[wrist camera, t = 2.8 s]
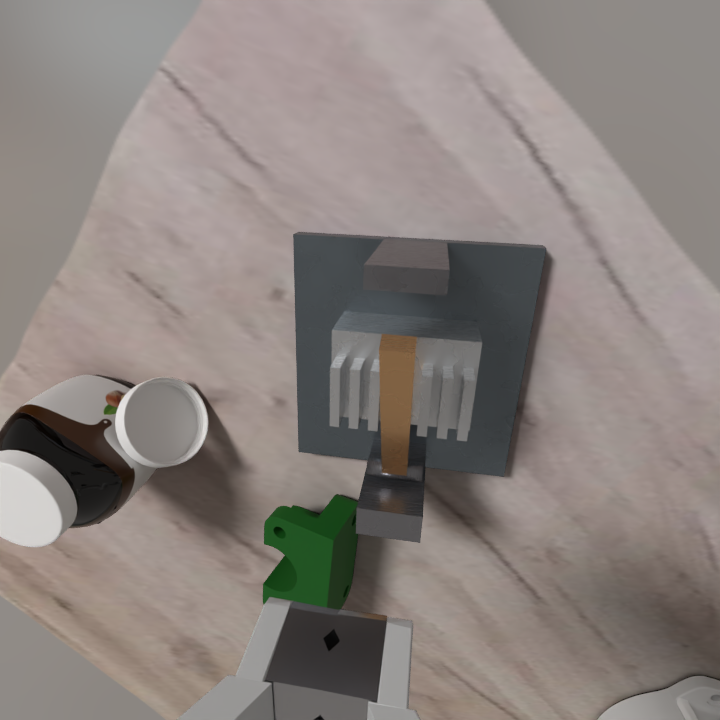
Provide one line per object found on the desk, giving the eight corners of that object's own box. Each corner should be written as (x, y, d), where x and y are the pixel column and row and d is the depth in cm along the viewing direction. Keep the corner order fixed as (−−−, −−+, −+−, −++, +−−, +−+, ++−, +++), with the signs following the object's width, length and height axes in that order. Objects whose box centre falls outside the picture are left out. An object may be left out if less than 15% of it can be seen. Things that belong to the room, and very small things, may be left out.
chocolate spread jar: (61, 412, 41) (-71, 497, 30) (108, 317, 36) (-28, 379, 26) (175, 488, 42) (86, 595, 32) (233, 406, 38) (152, 499, 27)
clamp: (318, 470, 44) (270, 490, 36) (375, 490, 42) (339, 517, 34) (287, 588, 45) (233, 637, 36) (343, 615, 43) (299, 672, 34)
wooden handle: (439, 337, 21) (438, 357, 20) (422, 468, 31) (421, 485, 30) (360, 330, 21) (356, 350, 20) (369, 462, 31) (366, 478, 31)
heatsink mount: (542, 245, 29) (586, 278, 20) (501, 467, 36) (522, 564, 27) (298, 231, 31) (242, 256, 23) (302, 443, 38) (261, 527, 29)
